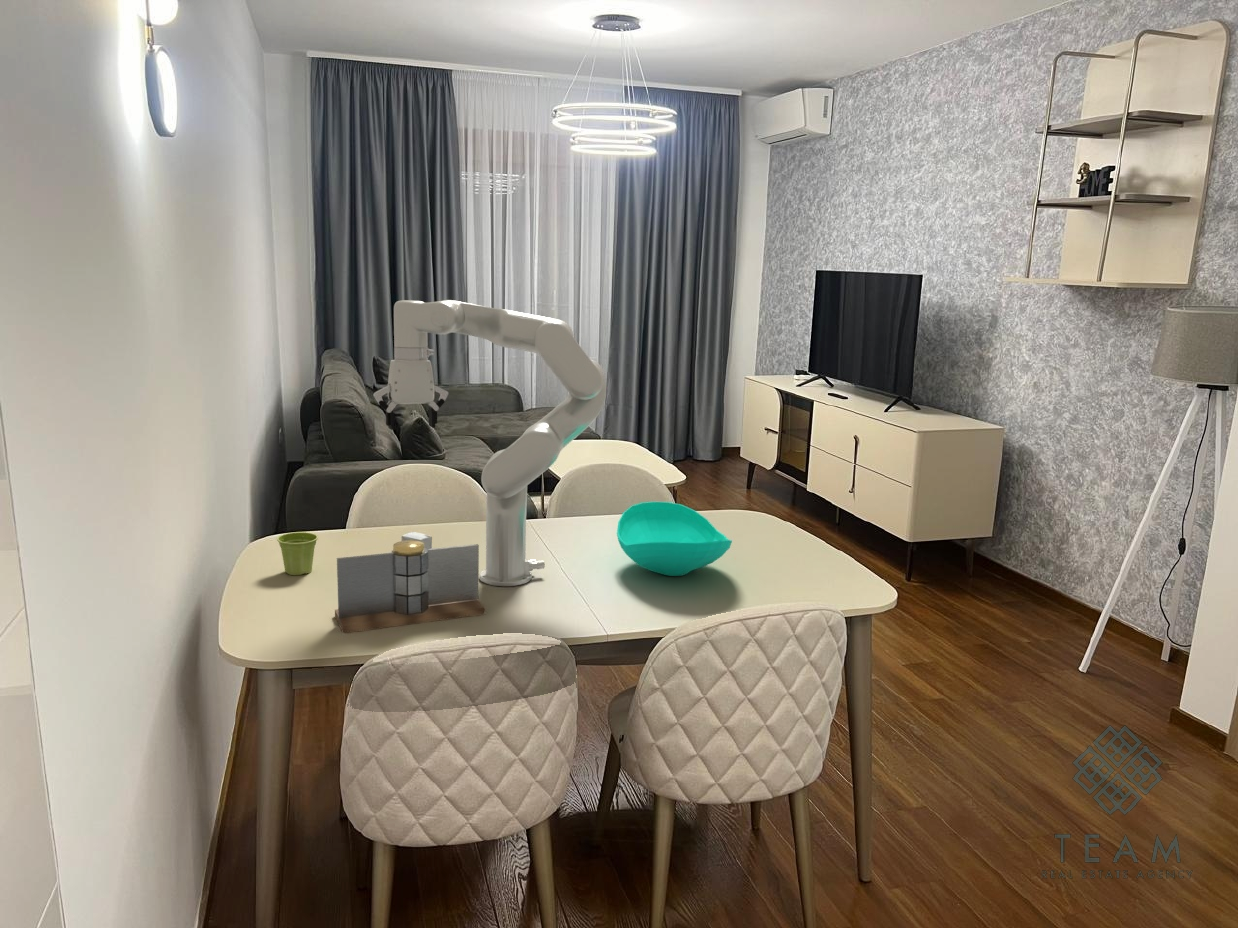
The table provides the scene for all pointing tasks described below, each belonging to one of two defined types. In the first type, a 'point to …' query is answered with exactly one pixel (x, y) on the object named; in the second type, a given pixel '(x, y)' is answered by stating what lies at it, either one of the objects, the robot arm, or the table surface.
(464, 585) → the swing leaf
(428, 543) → the skincare box
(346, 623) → the base board
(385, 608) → the hinge frame
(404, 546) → the hinge pin
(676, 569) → the table top decor
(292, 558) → the plant pot
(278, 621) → the table surface
